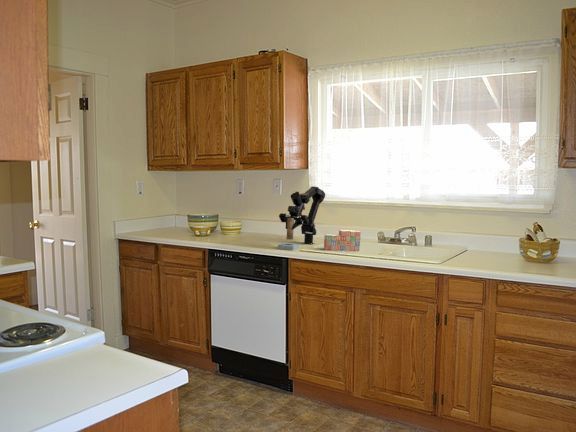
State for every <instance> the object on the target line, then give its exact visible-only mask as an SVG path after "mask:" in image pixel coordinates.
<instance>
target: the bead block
mask: <svg viewBox="0 0 576 432" xmlns="http://www.w3.org/2000/svg"><path fill="white" fill-rule="evenodd" d="M299 247H300V245H299V244H298V243H288V242H287V243H286V242H282V243H279V244H277V250H283V251H285V250H286V251H295V250H298V249H299Z"/></svg>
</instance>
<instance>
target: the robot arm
mask: <svg viewBox="0 0 576 432" xmlns="http://www.w3.org/2000/svg"><path fill="white" fill-rule="evenodd" d="M325 197H326V192H325V191H324V190H323V189H321V188H319V186H310V188H309V189H307V190H306V191H305V192H303V193H300V192H299V191H294V192H293V193H292V194H290V198H291V201H292V204H293V205H288V207H287V212H288V214H287V213H283V212H282V213H279V214H278V217H279V220H280V222H281V223H285V229H286V230H287V218H294V225H293V227H292V230H293V231H294V229H296V228H297V227H299V226H300V228H301V235H304V239H303V240H304V242H302V244H303V243H313V242H314V236H316V235H317V229H316V224H315V220H316V218H317V217H316V216H317V213H318V210H319V208H320V204H321V203H323V201H324V200H325ZM310 199H311V200H312V202H311V206H310V209H309V212H308V215H307V214H302V213H303V211H304V210H306V207H305V205H306V204H308V203H309V202H310V201H311V200H310Z"/></svg>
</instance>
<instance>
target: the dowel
mask: <svg viewBox="0 0 576 432" xmlns="http://www.w3.org/2000/svg"><path fill="white" fill-rule="evenodd" d="M294 223H295V220H294V218H287V229H286V240H289V241H292V240H294V229H293V230H292V227H293V225H294Z"/></svg>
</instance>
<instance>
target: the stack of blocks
mask: <svg viewBox="0 0 576 432" xmlns="http://www.w3.org/2000/svg"><path fill="white" fill-rule="evenodd" d="M323 240H324V241H323V242H324V243H323V249H324V248H325V249H326V250H325V249H324V250H325V251H343V252H344V251H345V252H347V251H349V252H351V251H352V252H360V247H361V246H360V245H361V231H360V230H353V229H339V230H338V234H332V233H331V234H330V233H329V234H328V233H327V234H324V237H323Z"/></svg>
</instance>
